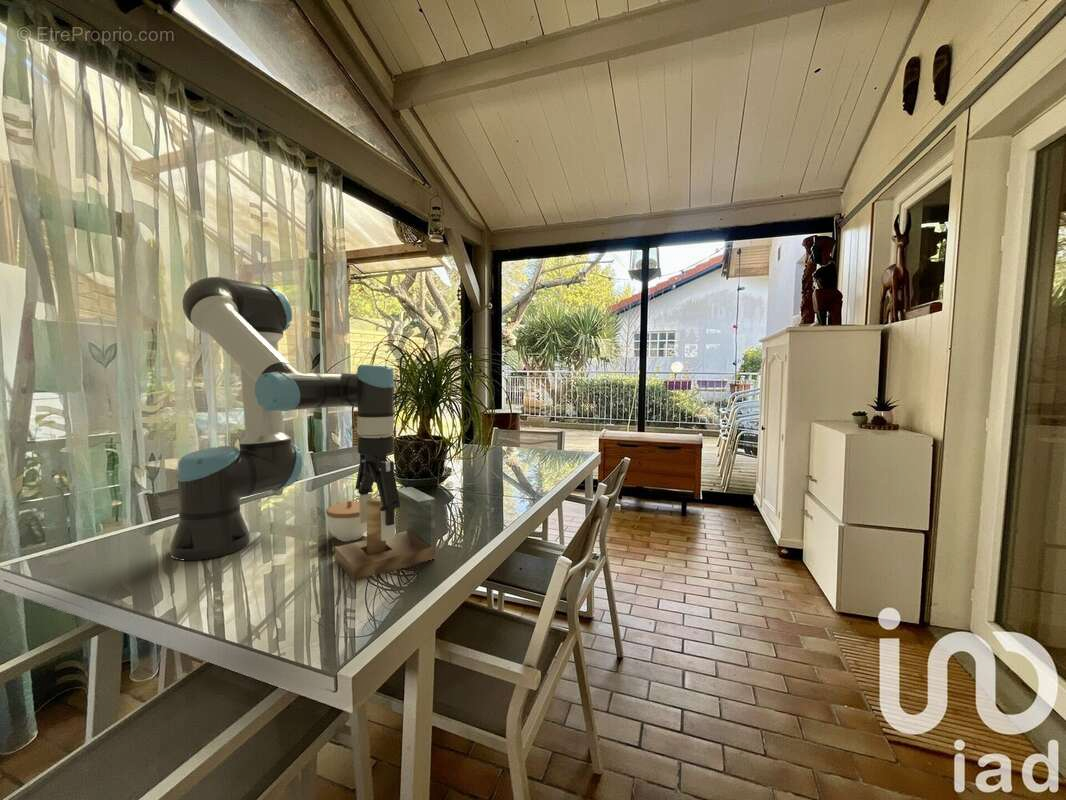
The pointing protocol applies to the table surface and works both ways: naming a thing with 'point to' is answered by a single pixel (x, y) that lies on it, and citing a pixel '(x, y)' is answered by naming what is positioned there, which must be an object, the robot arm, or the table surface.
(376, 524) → the oak peg
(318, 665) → the table surface
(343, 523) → the lidded jar
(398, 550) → the socket block
